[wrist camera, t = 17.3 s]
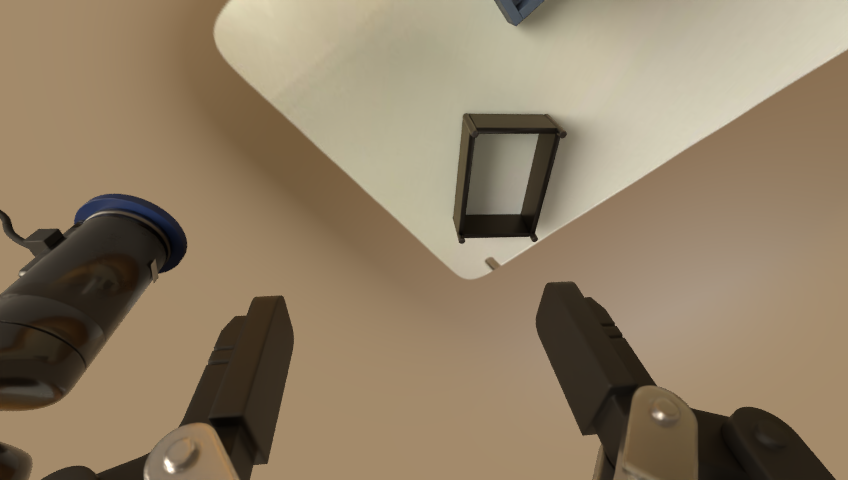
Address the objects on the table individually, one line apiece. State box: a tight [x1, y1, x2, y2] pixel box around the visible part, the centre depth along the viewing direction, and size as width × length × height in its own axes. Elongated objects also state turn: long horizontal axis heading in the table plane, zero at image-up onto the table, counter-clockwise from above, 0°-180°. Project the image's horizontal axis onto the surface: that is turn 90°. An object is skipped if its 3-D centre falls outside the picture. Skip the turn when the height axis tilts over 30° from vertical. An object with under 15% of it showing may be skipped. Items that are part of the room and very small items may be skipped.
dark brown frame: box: [453, 114, 567, 244], centre depth 41 cm, size 9×13×5 cm
